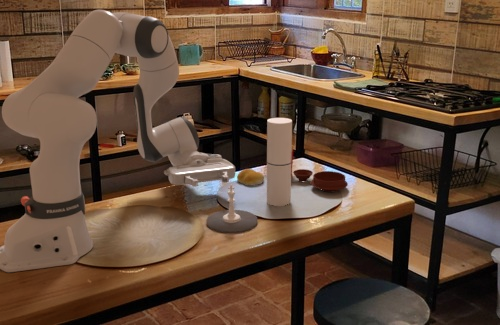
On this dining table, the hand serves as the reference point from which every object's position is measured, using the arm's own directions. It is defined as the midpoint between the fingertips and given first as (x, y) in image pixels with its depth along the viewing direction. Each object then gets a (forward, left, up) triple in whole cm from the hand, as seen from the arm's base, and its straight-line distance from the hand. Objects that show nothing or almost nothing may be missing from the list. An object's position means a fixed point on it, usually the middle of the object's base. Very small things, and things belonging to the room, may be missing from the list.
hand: (211, 182), depth 163 cm
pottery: (+38, +1, -8) cm, 39 cm away
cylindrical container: (+20, -5, -8) cm, 22 cm away
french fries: (+35, +17, -8) cm, 39 cm away
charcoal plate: (+1, -12, -8) cm, 14 cm away
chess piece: (+1, -12, -7) cm, 14 cm away
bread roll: (+21, +15, -8) cm, 27 cm away
